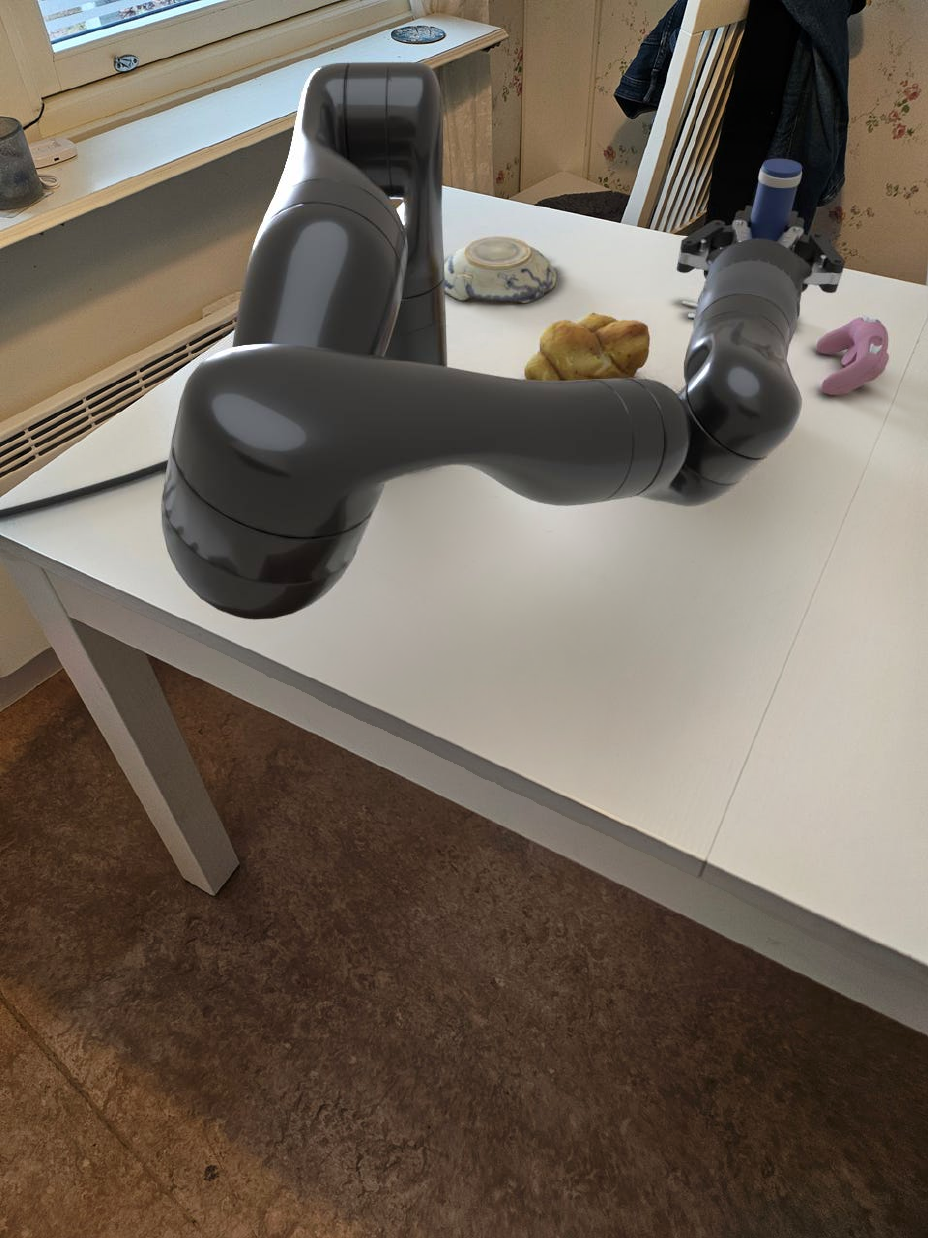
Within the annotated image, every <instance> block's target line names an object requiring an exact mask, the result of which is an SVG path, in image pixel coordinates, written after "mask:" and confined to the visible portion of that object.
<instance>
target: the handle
mask: <svg viewBox="0 0 928 1238" xmlns="http://www.w3.org/2000/svg"><path fill="white" fill-rule="evenodd" d="M802 170H803V165H802V164H801V163H799V162H797V161H796V160H792V159H787V158H770V159H767V160H765V161H763V163H762V165H761V168H760V169H759V173H758V178H757V179H758V183H757V188H756V192H755V197H754V202H753V205H752V206H753V209H752V213H751V218H750V223H749V228H751V233H752V238H753V239H756V238H758V239H768V240H772V241H775V242H777V241H778V239H779V238H780V237H781V235H782V234H783V233H784V232H785V231H786V227H787V224H788V221H789V217H790V213H791V211H792V209H793V207H794V202H795V198H796V194H797V190H798V186H799V184H800V183H801V179H802V175H803V171H802Z"/></svg>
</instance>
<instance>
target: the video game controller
mask: <svg viewBox="0 0 928 1238" xmlns="http://www.w3.org/2000/svg"><path fill="white" fill-rule="evenodd" d="M815 349H816V351H817V353H819V354H821V355H822V354H823V355H831V354H832V355H833V354H836V353H841V352H844V351H845V353H844V355H843V356H842V359H841V361H840V362H841V365H842V366H844V367H843V368H841V369H839V370H837V371H836V372H833V373H831V374H830V375H828V376H827V377H826V378H825V379H824V380H823V381H822V383H821V386H820V388H821V391H822V393H824V394H826V395H830V396H833V395H841V394H845V393H849V392H851V391H854V390H855V389H858V388H860V387H861V386H863V385H865V384H867V383H870V382H872V381H874V380H875V379H877V378H878V377H879V376H881V375H882V374H883V373H884V372H885V371H886V368H887V365H888V362H889V359H890V355H889V352H888V349H889V332H888V329H887V328H886V326H885V325H884V324H883V323H882V322H881V320H879V319H877V318H875V317H868V316H867V314H864V315H863V316H862V317H857V318H854V319H853V320H851V321H849V322H848V323H846V324H844V325H842V326H840V327H838V328H835V329H833V330H831V331H829V332H828V333H827V332H826V333H825V334H824V335H823V336H822V337H820V338H819V339H818V340H817V342H816V345H815Z"/></svg>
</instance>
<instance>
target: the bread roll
mask: <svg viewBox="0 0 928 1238" xmlns="http://www.w3.org/2000/svg"><path fill="white" fill-rule="evenodd" d="M650 342H651V336H650V332H649V326H648V325H647V324H646V323H645V322H642V321H639V320H635V319H634V320H633V319H632V320H626V319H625V320H624V319H622V320H617V319H616V318H614V317H612V316H608V315H605V314H599V313H595V312H591V313H589V314H587V315H585V316H584V317H583V318H581V319H579V320H577V321H576V322H575V321H572V320H567V319H563V320H558V321H556V322H553V323H551V324H550V325H549V326H548V327H546V328H545V330H544V331H543V332H542V334H541V335H540V338H539V350H538V352H536V353H535V354H533V355H532V356H531V357H530V359H529V360H528V361H527V362H526V363H525V366H524V377H525V380H536V381H572V380H590V379H613V378H635V376H636V374H637V372H638V370H639V369H642V368H643V367H644V366H645V364H646V363H647V361H648V358H649V353H650Z"/></svg>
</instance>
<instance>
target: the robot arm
mask: <svg viewBox="0 0 928 1238" xmlns="http://www.w3.org/2000/svg"><path fill="white" fill-rule="evenodd" d="M443 108H444V107H443V96H442V90H441V86H440V82H439V80H438V77H437V74H436V72H435V71H434V69H432V67H430V65H428V64H427V63H423V62H416V61H415V62H413V61H382V62H381V61H380V62H379V61H377V62H376V61H375V62H374V61H370V62H369V61H368V62H366V61H364V62H363V61H361V62H360V61H357V62H354V61H353V62H352V61H351V62H335V63H330V64H329V63H328V64H325V65H322V66H319V67H317V68H315V70H313V72H312V73H310V75H309V77H308V78H307V80H306V82H305V85H304V86H303V90H302V92H301V96H300V101H299V105H298V110H297V115H296V119H295V124H294V130H293V135H292V140H291V144H290V150H289V154H288V158H287V161H286V163H285V168H284V171H283V173H282V175H281V178H280V181H279V183H278V186H277V189H276V191H275V194H274V196H273V198H272V200H271V202H270V204H269V206H268V208H267V210H266V212H265V214H264V217H263V220H262V221H261V224H260V227H259V229H258V232H257V235H256V237H255V240H254V242H253V245H252V248H251V251H250V253H249V258H248V262H247V266H246V269H245V273H244V278H243V282H242V288H241V293H240V297H239V303H238V309H237V313H236V320H235V325H234V332H233V338H232V346H231V347H230V348H227V349H223V350H221V351H219V352H218V351H217V352H216V353H214V354H212V355H211V356H210V357H208V358H206V359H205V360H203V361H201V362H199V364H198V365H197V366H196V367H195V369H194V370H193V371H192V373H191V374H190V375H189V377H188V379H187V380H186V381H185V385H184V387H183V391H182V393H181V396H180V399H179V405H178V409H177V414H176V419H175V423H174V428H173V433H172V438H171V443H170V449H169V455H168V459H166V460H164V461H160V462H157V463H155V464H151V465H148V466H147V467H144V468H141V469H138V470H135V471H132V472H130V473H125V474H123V475H120V476H119V475H118V476H117V477H113V478H110V479H106V480H103V481H100V482H96V483H93V484H90V485H86V486H84V487H80V488H75V489H72V490H69V491H66V492H63V493H58V494H55V495H52V496H48V497H44V498H41V499H37V500H33V501H29V502H26V503H25V502H24V503H20V504H17V505H14V506H10V507H4V508H2V509H0V519H4V518H7V517H8V518H9V517H12V516H16V515H20V514H23V513H27V512H31V511H35V510H40V509H43V508H47V507H51V506H54V505H58V504H61V503H64V502H68V501H71V500H75V499H78V498H81V497H85V496H88V495H91V494H95V493H98V492H103V491H105V490H108V489H111V488H115V487H118V486H122V485H124V484H127V483H130V482H134V481H137V480H140V479H142V478H145V477H148V476H152V475H154V474H156V473H158V472H159V473H160V472H162V471H165V470H166V472H165V477H164V483H163V491H162V495H161V501H160V513H161V530H162V534H163V538H164V542H165V546H166V550H167V554H168V555H169V557H170V559H171V563H172V564H173V566H174V569H175V570H176V572H177V573H178V575H179V576H180V577H181V579H182V580H183V582H184V583H185V584H186V586H187V587H188V588H189V589H190V590H191V591H192V592H194V594H196V595H197V596H198V597H199V599H200V600H202V601H204V602H205V603H207V604H208V605H210V606H212V608H214V609H216V610H218V611H219V612H222V613H225V614H227V615H230V616H233V617H236V618H240V619H245V620H255V621H256V620H274V619H277V618H281V617H286V616H289V615H294V614H295V613H298V612H300V611H302V610H304V609H306V608H308V607H310V606H312V605H313V604H315V603H317V602H318V601H320V599H322V598H323V597H324V596H325V595H327V593H329V592H330V591H331V590H332V588H334V586H335V585H336V584H337V583H339V581H340V580H341V579H342V577H343V576H344V574H346V571H347V570H348V568H349V567H350V565H351V564H352V562H353V560H354V558H355V556H356V553H357V550H358V548H359V546H360V544H361V542H362V540H363V537H364V535H365V532H366V530H367V529H368V525H369V523H370V522H371V520H372V517H373V514H374V512H375V510H376V508H377V506H378V503H379V501H380V498H381V495H382V493H383V491H384V488H385V483H387V482H389V481H391V480H394V479H396V478H399V477H403V476H406V475H409V474H414V473H417V472H421V471H426V470H430V469H435V468H441V467H446V466H467V467H471V468H473V469H476V470H478V471H480V472H482V473H484V474H485V475H487V476H489V477H490V478H492V479H493V480H494V481H496V482H497V483H499V484H500V485H502V486H503V487H505V488H506V489H508V490H510V491H511V492H513V493H515V494H517V495H519V496H521V497H523V498H525V499H528V500H531V501H532V502H536V503H539V504H545V505H552V506H557V507H573V506H583V505H590V504H591V505H592V504H597V503H604V502H610V501H617V500H624V499H628V498H633V497H639V498H642V499H647V500H649V501H650V500H651V501H654V502H659V503H664V504H665V503H666V504H670V505H675V506H680V507H685V508H686V507H687V508H690V507H691V508H692V507H698V506H702V505H706V504H708V503H711V502H713V501H715V500H718V499H719V498H721V497H722V496H725V495H726V494H727V493H728V492H730V491H731V490H732V489H733V488H734V487H735V486H736V485H738V484H739V483H740V482H741V481H742V480H743V479H744V478H745V477H746V476H747V475H749V473H751V472H752V471H753V470H754V469H755V468H757V466H759V465H760V464H761V463H762V462H763V461H764V460H765V459H766V458H768V457H769V456H770V455H771V454H772V453H773V452H774V451H775V450H777V448H778V447H780V446H781V445H782V444H783V443H784V442H785V441H786V439H787V438H788V437H789V436H790V435H791V433H792V432H793V430H794V428H795V427H796V424H797V422H798V421H799V418H800V415H801V411H802V408H803V406H802V405H803V397H802V395H801V391H800V389H799V388H798V387H799V386H798V385H797V383H796V381H795V379H794V377H793V374H792V371H791V368H790V365H789V363H788V354H789V348H790V344H791V342H792V340H793V338H794V335H795V331H796V328H797V323H798V320H799V318H800V315H801V300H802V293H804V292H805V291H806V290H808V288H809V286H810V285H811V286H812V285H813V286H818V287H819V288H820V290H821V291H822V292H824V293H827V294H834V293H836V292H837V290H838V287H839V284H840V281H841V278H842V275H843V272H844V269H845V265H846V260H845V259H844V257H843V256H842V255H841V253H839V251H838V250H837V249H836V248H835V246H834V245H833V244H832V243H831V242H830V240H829V239H828V237H827V236H826V235H825V234H824V233H822V232H819V231H816V232H811V233H810V234H809V235H806V234H805V232H804V231H805V230H804V226H805V220H804V217H798V214H799V211H796V210H791V213H790V217H789V221H788V224H787V227H786V231H785V232H784V233H783V234H782V235H781V237H780V238H779V239H778V241H777V242H775V241H772V240H768V239H758V238H756V239H753V238H752V233H751V228H749V223H750V218H751V213H752V209H753V205H746V206H745V208H744V210H738V211H736V212H735V216H734V218H733V221H732V224H730V225H726V223H725V221H723V220H719V219H714V220H711V221H710V222H708V223H707V224H705V225H703V226H702V227H701V228H699V229H697V230H696V231H695V232H692V233H690V234H689V235H687V236H686V237H684V238H683V239H682V240H681V241H680V247H679V253H678V259H677V265H676V271H677V272H679V273H682V274H688V273H690V272H692V271H693V270H702V271H703V276H704V279H705V281H704V285H703V287H702V289H701V292H700V293H699V296H698V298H697V304H698V306H697V307H696V308H695V312H694V314H695V317H694V318H693V327H692V332H691V335H690V339H689V342H688V345H687V348H686V351H685V357H684V361H683V379H684V383H685V385H684V386H683V387H682V388H681V390H680V391H679V392H678V393H677V392H675V390H673V389H672V388H671V387H670V386H668V385H667V384H665V383H662V382H661V381H658V380H656V379H655V380H654V379H650V378H644V377H643V378H642V377H634V378H613V379H590V380H572V381H536V380H526V379H523V378H522V379H521V378H515V377H507V376H501V375H500V376H499V375H495V374H494V375H493V374H487V373H484V372H483V373H481V372H478V371H477V372H476V371H471V370H466V369H461V368H455V367H451V366H448V345H447V344H448V342H447V316H446V315H447V313H446V312H447V310H446V292H445V278H444V264H445V256H444V255H445V254H444V252H445V251H444V239H443V238H444V235H443V234H444V233H443V232H444V231H443V168H444V167H443V166H444V165H443V164H444V163H443V162H444V109H443ZM399 199H400V200H402V203H401V204H400V205H398V206H397V207H395V204H394V203H393V201H392V200H399Z"/></svg>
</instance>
